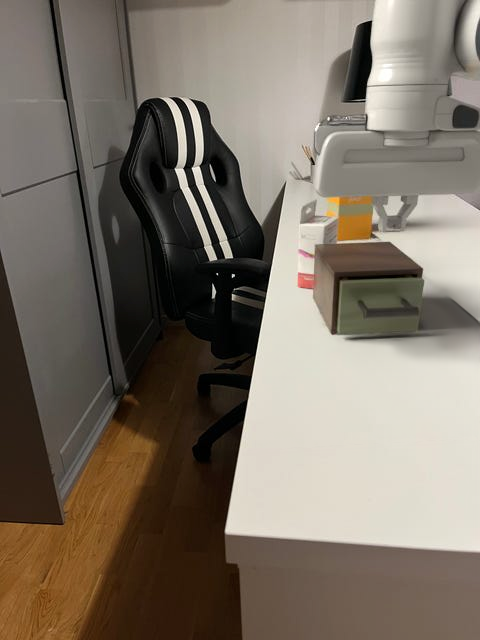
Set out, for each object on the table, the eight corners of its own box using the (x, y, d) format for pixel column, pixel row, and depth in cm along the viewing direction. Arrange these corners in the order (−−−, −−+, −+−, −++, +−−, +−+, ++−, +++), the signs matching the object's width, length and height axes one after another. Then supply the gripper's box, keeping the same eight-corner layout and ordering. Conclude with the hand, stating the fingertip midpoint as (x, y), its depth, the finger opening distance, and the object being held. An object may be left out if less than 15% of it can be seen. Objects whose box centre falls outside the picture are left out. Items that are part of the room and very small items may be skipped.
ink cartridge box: (322, 291, 90) (326, 208, 84) (296, 287, 92) (298, 206, 86) (336, 276, 97) (340, 199, 91) (311, 273, 99) (314, 198, 93)
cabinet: (415, 330, 74) (423, 268, 70) (330, 334, 73) (334, 272, 69) (384, 295, 87) (389, 241, 83) (312, 298, 87) (314, 244, 83)
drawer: (430, 346, 67) (438, 292, 64) (346, 350, 67) (350, 295, 64) (387, 297, 84) (392, 252, 81) (320, 300, 83) (322, 255, 80)
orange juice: (325, 233, 127) (329, 151, 119) (357, 231, 129) (363, 149, 121) (337, 241, 120) (341, 154, 112) (371, 238, 122) (378, 152, 114)
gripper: (320, 116, 55) (314, 239, 60) (502, 112, 56) (480, 234, 61) (310, 114, 61) (305, 227, 66) (475, 111, 61) (457, 223, 67)
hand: (391, 230), depth 64 cm, fingers closed
